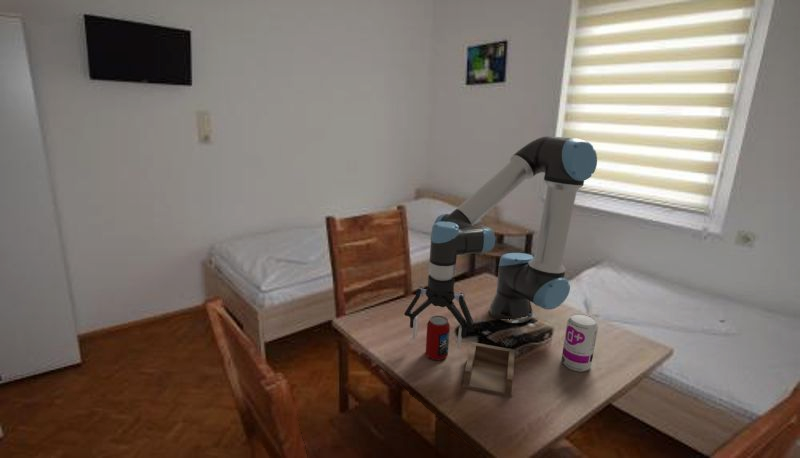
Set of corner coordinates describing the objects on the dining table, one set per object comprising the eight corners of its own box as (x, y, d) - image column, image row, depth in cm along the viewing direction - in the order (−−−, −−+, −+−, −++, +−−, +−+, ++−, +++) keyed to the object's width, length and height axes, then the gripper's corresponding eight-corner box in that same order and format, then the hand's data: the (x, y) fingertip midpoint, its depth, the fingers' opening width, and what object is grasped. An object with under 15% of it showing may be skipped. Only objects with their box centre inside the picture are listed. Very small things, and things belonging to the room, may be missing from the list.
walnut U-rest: (469, 357, 130) (470, 341, 129) (513, 365, 127) (515, 349, 125) (462, 386, 116) (463, 370, 115) (511, 397, 113) (513, 380, 111)
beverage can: (446, 363, 127) (449, 326, 123) (423, 360, 128) (425, 323, 125) (448, 350, 133) (451, 316, 130) (427, 347, 134) (429, 313, 131)
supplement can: (577, 375, 123) (585, 328, 119) (555, 360, 130) (562, 315, 126) (596, 368, 126) (605, 322, 122) (574, 354, 133) (581, 310, 129)
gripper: (486, 277, 123) (479, 342, 129) (403, 265, 130) (400, 328, 136) (484, 287, 116) (476, 356, 122) (396, 273, 123) (393, 339, 129)
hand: (436, 341), depth 129 cm, fingers open, 13 cm apart
